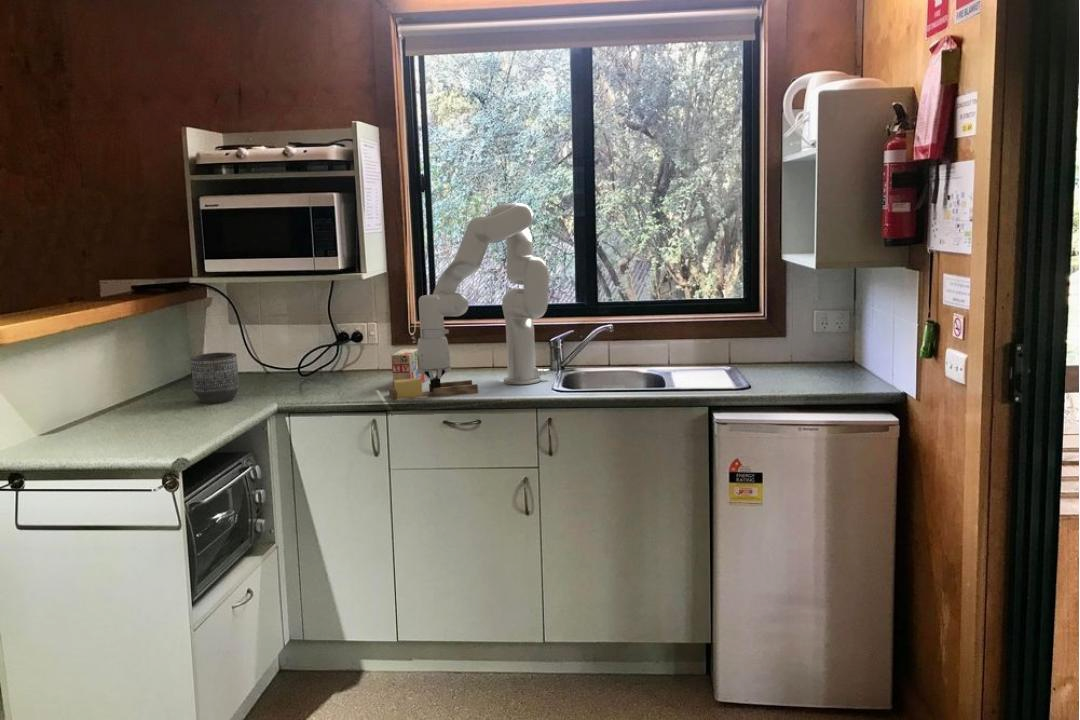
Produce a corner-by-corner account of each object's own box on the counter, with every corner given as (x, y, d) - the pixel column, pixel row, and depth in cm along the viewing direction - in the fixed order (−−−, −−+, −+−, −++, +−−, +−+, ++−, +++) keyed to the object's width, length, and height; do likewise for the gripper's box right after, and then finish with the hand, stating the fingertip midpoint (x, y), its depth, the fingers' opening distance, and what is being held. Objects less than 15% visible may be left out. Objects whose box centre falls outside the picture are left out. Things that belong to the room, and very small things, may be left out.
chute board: (471, 389, 311) (471, 379, 310) (478, 395, 302) (477, 384, 301) (389, 397, 303) (388, 387, 303) (393, 402, 294) (392, 392, 294)
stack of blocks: (412, 379, 335) (410, 344, 333) (429, 379, 334) (428, 344, 332) (393, 390, 315) (390, 354, 313) (411, 390, 313) (409, 354, 311)
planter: (214, 407, 298) (209, 360, 295) (185, 403, 305) (180, 357, 303) (249, 398, 310) (245, 353, 307) (221, 395, 317) (217, 351, 315)
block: (419, 393, 303) (418, 378, 303) (422, 396, 299) (421, 380, 298) (394, 395, 301) (393, 380, 300) (396, 398, 296) (396, 382, 296)
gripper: (453, 330, 305) (456, 386, 308) (407, 334, 301) (410, 390, 304) (458, 333, 298) (461, 390, 301) (410, 337, 294) (414, 395, 297)
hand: (435, 390), depth 302 cm, fingers closed
